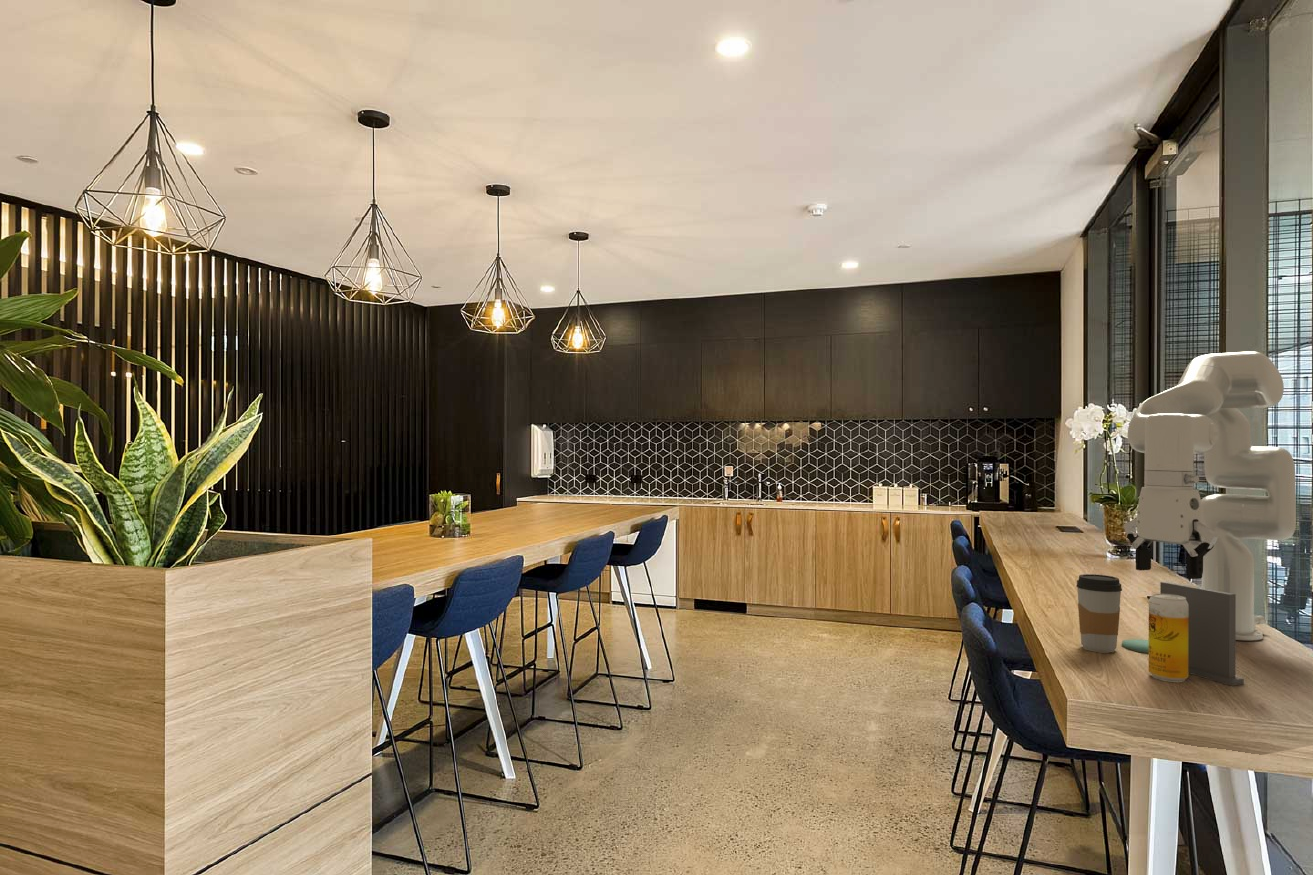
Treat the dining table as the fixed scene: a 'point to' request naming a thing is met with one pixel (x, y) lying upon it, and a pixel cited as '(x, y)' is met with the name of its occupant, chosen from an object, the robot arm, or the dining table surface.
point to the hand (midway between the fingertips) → (1167, 574)
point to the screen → (1209, 632)
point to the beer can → (1168, 637)
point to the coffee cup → (1099, 611)
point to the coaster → (1137, 645)
